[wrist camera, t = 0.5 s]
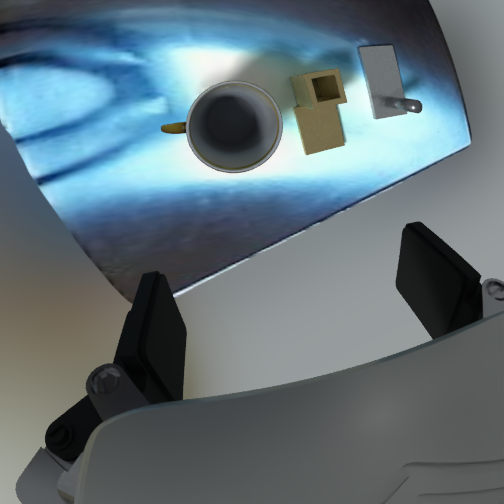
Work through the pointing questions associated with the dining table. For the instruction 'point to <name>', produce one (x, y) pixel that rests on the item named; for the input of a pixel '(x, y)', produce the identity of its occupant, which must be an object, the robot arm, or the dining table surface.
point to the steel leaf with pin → (385, 83)
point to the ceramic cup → (232, 127)
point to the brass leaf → (319, 110)
